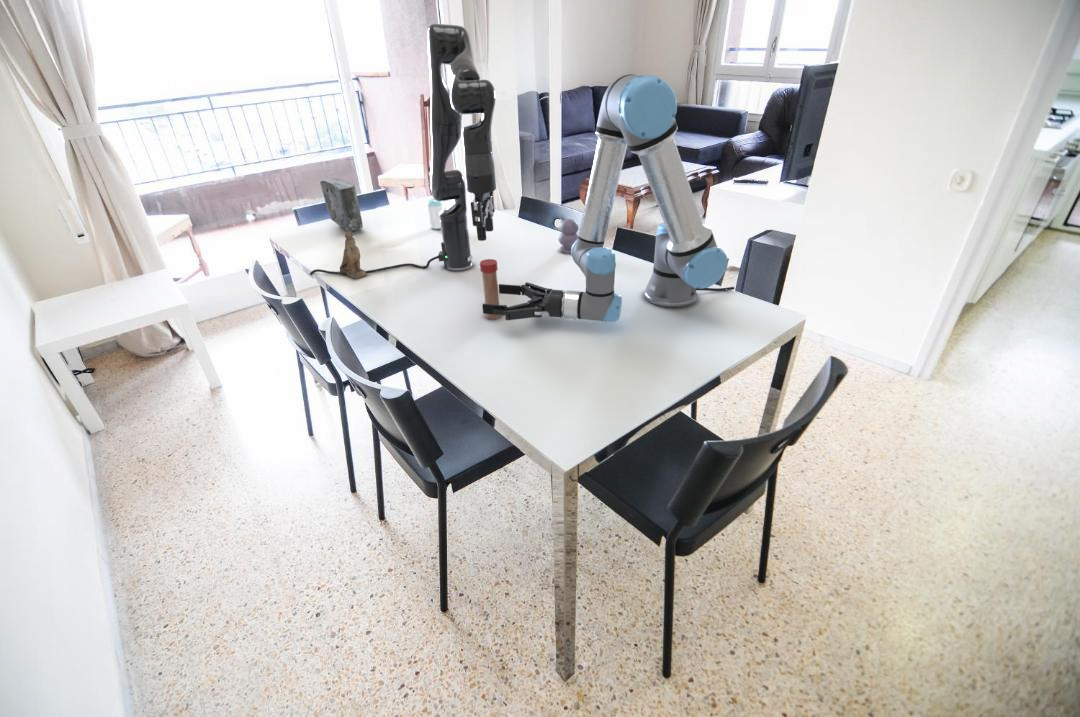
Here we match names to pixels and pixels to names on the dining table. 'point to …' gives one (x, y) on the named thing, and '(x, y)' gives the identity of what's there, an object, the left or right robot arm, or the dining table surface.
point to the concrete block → (342, 203)
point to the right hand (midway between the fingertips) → (491, 298)
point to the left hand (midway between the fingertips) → (485, 235)
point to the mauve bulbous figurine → (568, 234)
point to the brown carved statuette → (351, 258)
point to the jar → (491, 291)
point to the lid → (488, 266)
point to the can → (435, 213)
